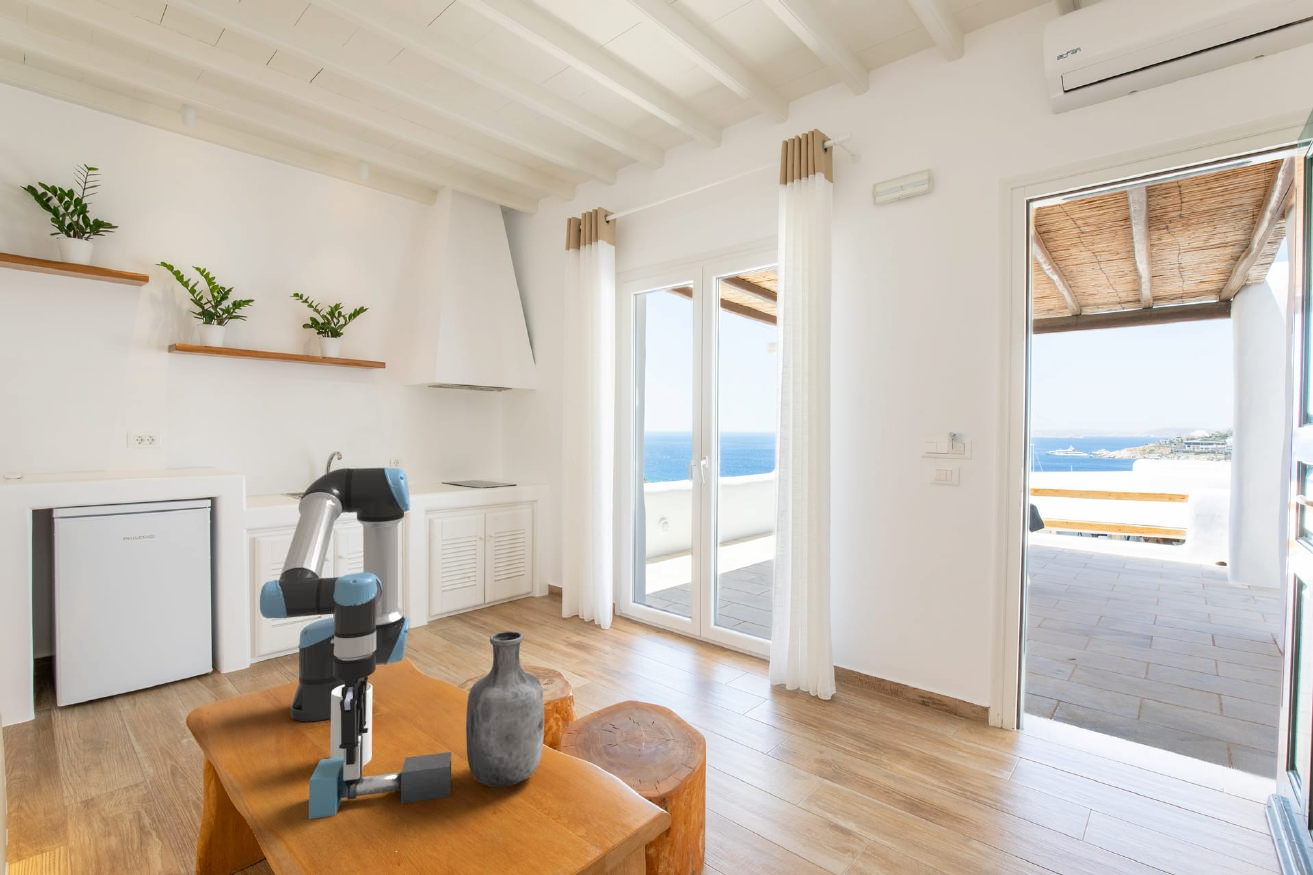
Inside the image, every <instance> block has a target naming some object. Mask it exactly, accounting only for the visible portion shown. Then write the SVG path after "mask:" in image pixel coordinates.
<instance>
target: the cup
mask: <svg viewBox="0 0 1313 875" xmlns="http://www.w3.org/2000/svg"><path fill="white" fill-rule="evenodd" d="M342 687H345V684H344V685H341V686H339V687H337V688H335V689H333V690H332V692H331V718H330V754H329V756H330V758H329V759H332V758H340V757H344V749H341V748H339V745H340V744H341V709H340V701H341V700H343V697H342V696H341V692H342ZM364 728H368V733H362V735H364V753H363V767H364V766H365V765H367V764H368V763H370V761H372V758H373V756H372V754H373V753H372V752H373V749H372V748H373V747H372V746H373V744H372V743H373V740H372V739H373V685H372V683H369V682H367V696H366V725H365V726H364Z"/></svg>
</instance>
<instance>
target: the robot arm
mask: <svg viewBox="0 0 1313 875" xmlns="http://www.w3.org/2000/svg"><path fill="white" fill-rule="evenodd" d="M300 498H301V499H300V501H299V503H298V511H299V514H300V515H299V518H298V522H297V524H296V528H295V530H294V534H293V537H292V540H291V542H290V545H289V549H288V551H287V555H286V558H285V561H284V564H283V567H282V569H281V572H280V575H279V579H275V580H271V581H270V580H269V581H266V582H265V583H264V584H263V585H262V587H261V589H260V590H261V591H260V594H259V610H260V614H261V616H263V618H266V619H289V618H299V617H310V616H319V615H321V616H323V615H334V616H333V617H328V618H324V619H320V620H317V621H314V622H312V623H310V624H308V625H306V626H305V627H304V628H303V629H301V631H300V635H299V645H298V650H299V651H298V652H299V653H298V685H297V689H296V692H295V694H294V697H293V699H292V702H291V704H290V717H291V719H293V720H295V721H298V722H318V721H325V720H329V719H330V720H331V692H332V690H333V689H335V688H337V687H339V686H341V685H344V684H345V687H342V692H341V696H342V697H343V700H341V701H340V709H341V744H340V745H339V748H341V749H344V774H343V781H345V780H353V779H359V777H360V743H359V741H358V738H359V732H361V733H368V728H364V726H365V725H366V696H367V683H368V679H369V677H368V676H371V675H372V674H374V672H375V671H376V666H382V665H384V666H386V665H388V664H394V663H400V662H401V661H402V660H403V659H404V657H405V654H406V653H405V652H406V648H407V646H406V645H407V641H408V632H409V627H410V618H408V617H405V612H404V611H403V610H402V609H401V608H400V607H399V523H400V522H401V521H402V520H403V519H404V518H405V513H406V512H408V511H410V509H411V502H410V491H409V484H408V478H407V474H406V472H405V471H404V470H403V469H401V468H396V467H395V468H391V467H366V468H365V467H363V468H360V467H359V468H357V467H356V468H349V467H348V468H347V467H346V468H345V467H344V468H338V469H335V470H332V471H329V472H327V473H325V474H323V475H322V476H320V477H318V478H317V479H316V480H314V481H313V482H312V483H311V484H310V486H308V487H307V488H306V489H305V491H304V493H302V496H301V497H300ZM343 513H344V514H345V513H348V514H349V513H352V514H353V513H356V520H357V522H359V523H360V524H361V525H362V526H363V527H362V533H363V534H362V537H363V538H362V539H363V540H362V542H363V545H362V549H363V555H362V556H363V566H362V567H363V570H362V571H363V572H359V573H352V574H351V573H350V574H345V575H343V576H335V577H322V578H321V576H322V572H323V568H324V564H325V560H326V556H327V552H328V549H329V544H330V541H331V536H332V533H333V529H334V525H335V522H336V520H338V519H339V517H340V516H341V514H343ZM363 753H364V735H362V770H363V769H364V766H363Z"/></svg>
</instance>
